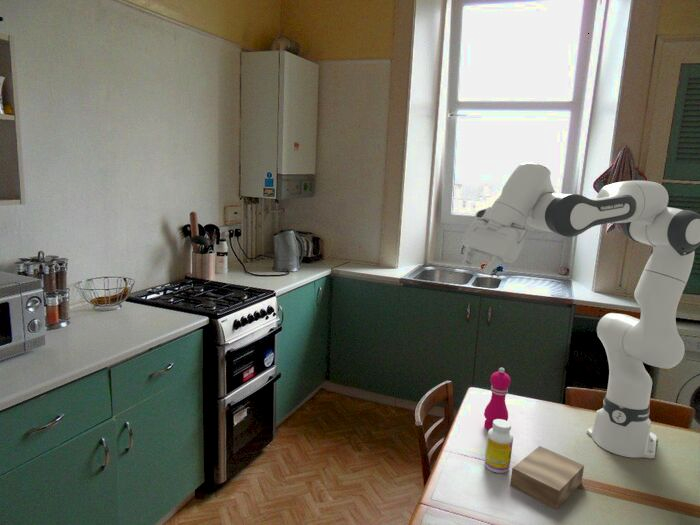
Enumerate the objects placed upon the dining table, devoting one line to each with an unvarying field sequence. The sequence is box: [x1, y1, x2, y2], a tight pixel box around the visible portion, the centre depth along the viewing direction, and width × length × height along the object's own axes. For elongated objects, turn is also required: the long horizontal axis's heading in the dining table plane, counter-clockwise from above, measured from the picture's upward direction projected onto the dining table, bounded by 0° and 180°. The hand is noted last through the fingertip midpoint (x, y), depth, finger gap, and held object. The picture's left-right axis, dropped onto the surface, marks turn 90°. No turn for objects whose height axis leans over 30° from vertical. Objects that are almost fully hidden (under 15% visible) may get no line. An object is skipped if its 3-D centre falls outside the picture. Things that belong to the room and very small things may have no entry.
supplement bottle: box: [483, 419, 514, 474], centre depth 136 cm, size 7×7×13 cm
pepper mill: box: [483, 367, 512, 431], centre depth 156 cm, size 7×7×20 cm
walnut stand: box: [509, 445, 585, 510], centre depth 130 cm, size 16×12×5 cm
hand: (475, 269), depth 126 cm, fingers open, 8 cm apart
